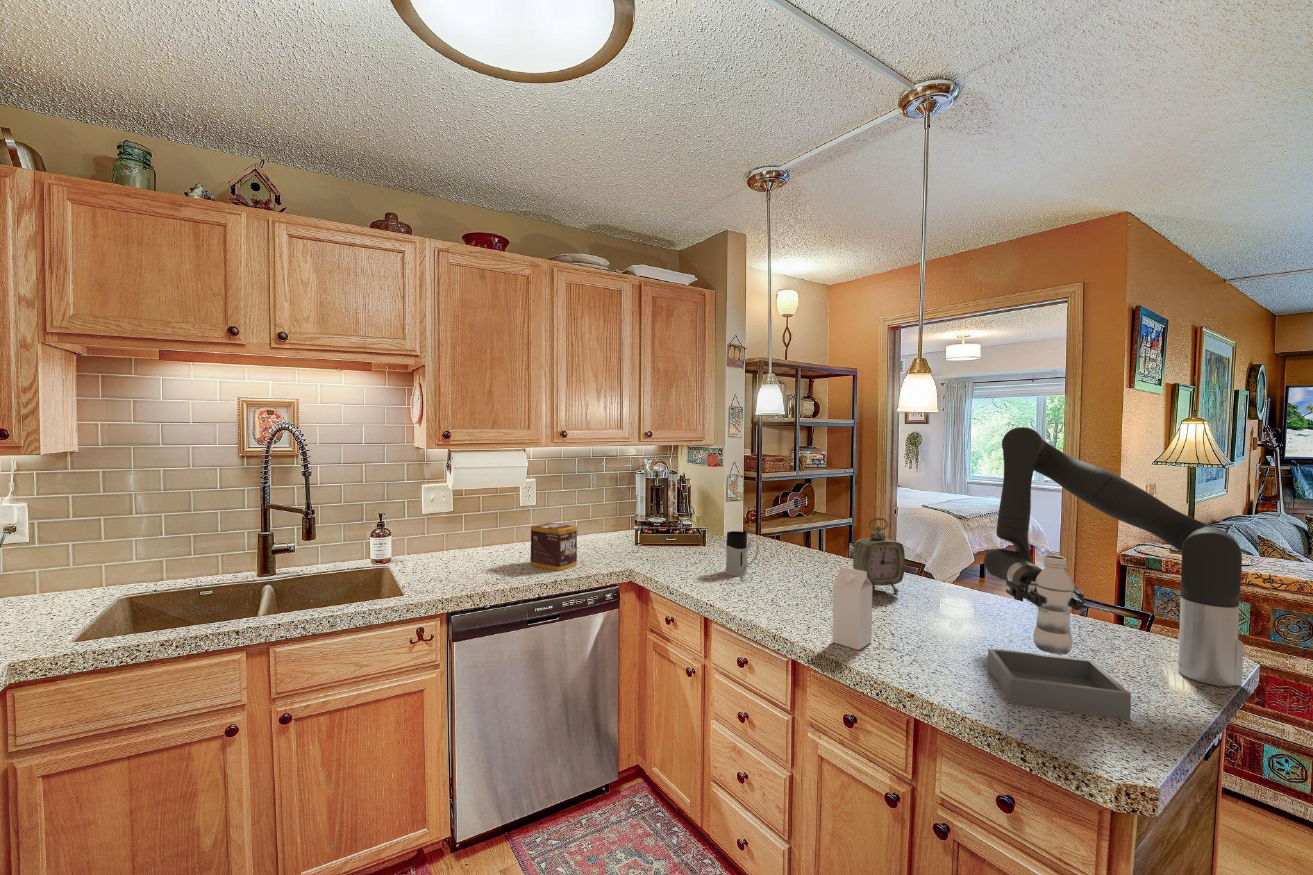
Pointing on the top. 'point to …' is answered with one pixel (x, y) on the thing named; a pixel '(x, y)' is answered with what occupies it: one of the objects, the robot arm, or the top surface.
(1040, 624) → the silver bottle
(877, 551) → the tabletop clock
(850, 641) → the milk carton
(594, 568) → the top surface
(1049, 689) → the bin
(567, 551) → the supplement box
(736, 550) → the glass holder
